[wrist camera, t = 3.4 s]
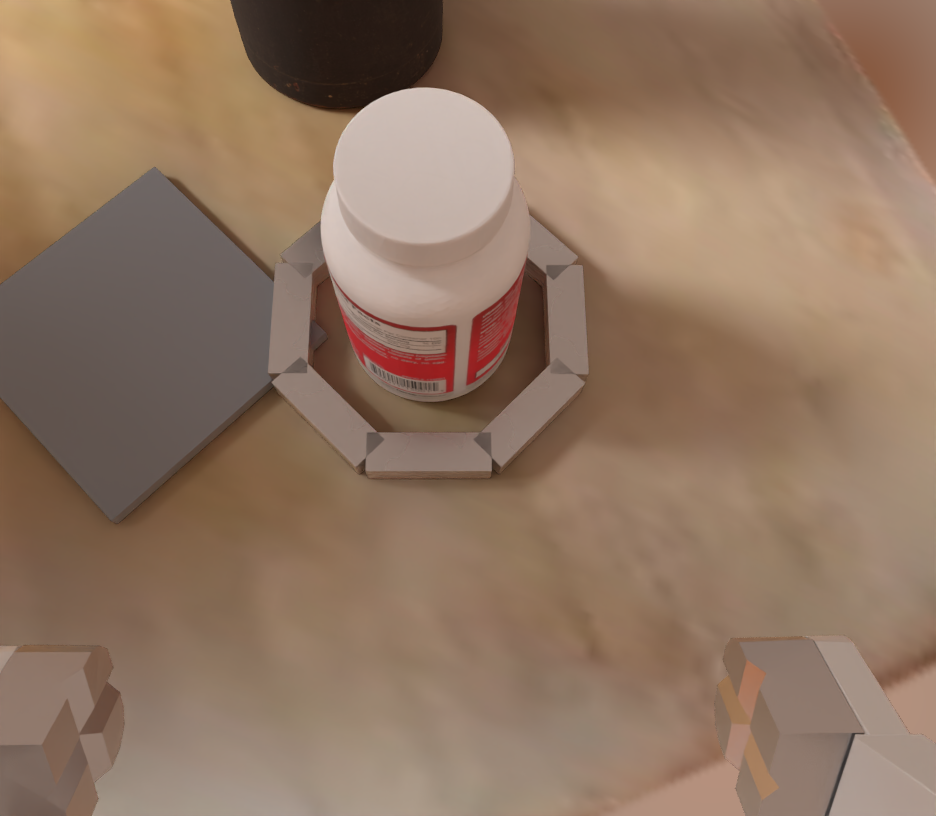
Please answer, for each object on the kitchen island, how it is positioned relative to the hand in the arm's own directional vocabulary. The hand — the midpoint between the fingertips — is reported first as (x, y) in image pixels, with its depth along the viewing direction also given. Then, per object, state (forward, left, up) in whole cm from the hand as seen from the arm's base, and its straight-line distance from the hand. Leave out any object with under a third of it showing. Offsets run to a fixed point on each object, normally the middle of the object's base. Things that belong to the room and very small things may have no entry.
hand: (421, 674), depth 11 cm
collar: (+9, +9, -18) cm, 21 cm away
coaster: (+1, +16, -18) cm, 24 cm away
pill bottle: (+9, +9, -18) cm, 22 cm away
